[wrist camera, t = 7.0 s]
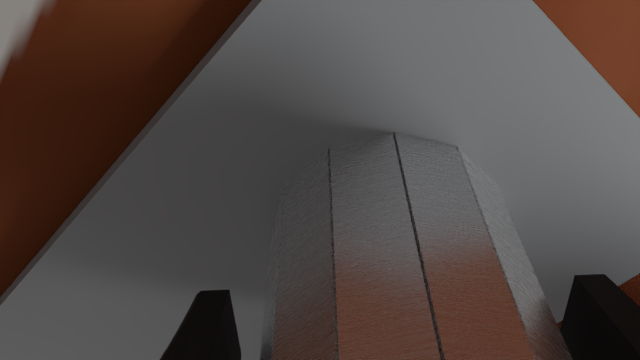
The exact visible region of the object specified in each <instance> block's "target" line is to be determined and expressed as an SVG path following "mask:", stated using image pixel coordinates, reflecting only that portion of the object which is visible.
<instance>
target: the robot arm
mask: <svg viewBox="0 0 640 360" xmlns="http://www.w3.org/2000/svg"><path fill="white" fill-rule="evenodd" d="M560 332H561V335H562V337H563V339H564V342H565V344H566V346H567V348H568V351H569V353H570V355H571V358H572V360H640V307H639V306H638V305H637V304H636V303H635V302H634V301H633V300H632V299H631V298H630V297H628V296H627V295H626V294H625V293H624V292H623V291H622V290H621V289H620V288H619V287H618V286H617V285H616V284H615V283H614V282H613V281H612V280H610V279H609V278H608V277H607V276H606V275H605V274H590V275H575V276H574V279H573V283H572V287H571V291H570V294H569V298H568V302H567V306H566V310H565V313H564V317H563V321H562V325H561V328H560ZM160 360H241V348H240V343H239V338H238V332H237V327H236V322H235V317H234V311H233V306H232V301H231V296H230V290H206V291H200V292H199V293H198V294H197V295H196V296H195V298H194V300H193V302H192V304H191V306H190V308H189V310H188V312H187V314H186V316H185V317H184V319H183V321H182V323H181V325H180V326H179V328H178V330H177V332H176V333H175V335H174V337H173V339H172V340H171V342H170V344H169V345H168V347H167V349H166V350H165V352H164V353H163V355H162V357H161V358H160Z"/></svg>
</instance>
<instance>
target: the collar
mask: <svg viewBox="0 0 640 360" xmlns="http://www.w3.org/2000/svg"><path fill="white" fill-rule="evenodd" d="M260 360H572V358H571V355H570V353H569V351H568V348H567V346H566V344H565V342H564V339H563V337H562V335H561V332H560V330H559V328H558V325H557V323H556V321H555V318H554V316H553V314H552V312H551V309H550V307H549V305H548V302H547V300H546V298H545V295H544V293H543V291H542V288H541V286H540V284H539V281H538V279H537V277H536V275H535V272H534V270H533V268H532V265H531V263H530V261H529V258H528V256H527V254H526V251H525V249H524V247H523V244H522V242H521V240H520V238H519V235H518V233H517V231H516V228H515V226H514V224H513V221H512V219H511V217H510V214H509V212H508V210H507V207H506V205H505V203H504V201H503V198H502V196H501V194H500V191H499V189H498V187H497V185H496V183H495V182H494V181H493V180H492V179H491V178H490V177H489V176H488V175H487V174H486V173H485V172H484V171H483V170H482V169H481V168H480V167H479V166H477V165H476V164H475V163H474V162H473V161H472V160H471V159H470V158H469V157H468V156H467V155H466V154H465V153H464V152H463V151H462V150H461V149H460V148H459V147H457V148H456V146H455V145H450V144H446V143H441V142H437V141H432V140H428V139H423V138H419V137H414V136H410V135H405V134H401V133H396V132H395V134H394V136H393V133H387V134H383V135H379V136H375V137H371V138H367V139H363V140H359V141H354V142H350V143H346V144H342V145H338V146H334V147H330V150H329V149H326V150H325V151H324V152H323V153H322V154H321V155H320V156H318V157H317V158H316V159H315V160H314V161H313V162H311V163H310V164H309V165H308V166H307V167H306V168H305V169H303V170H302V171H301V172H300V173H299V174H298V175H296V176H295V177H294V178H293V179H292V180H291V181H290V182H288V183H287V184H286V185H285V186H284V188H283V191H282V194H281V198H280V202H279V205H278V209H277V213H276V216H275V220H274V224H273V227H272V231H271V238H270V249H269V261H268V272H267V283H266V294H265V306H264V317H263V328H262V339H261V351H260Z"/></svg>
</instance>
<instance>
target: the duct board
mask: <svg viewBox="0 0 640 360" xmlns="http://www.w3.org/2000/svg"><path fill="white" fill-rule="evenodd" d="M395 132H396V133H401V134H405V135H410V136H414V137H419V138H423V139H428V140H432V141H437V142H441V143H446V144H450V145H455V146H456V148H457V147H459V148H460V149H461V150H462V151H463V152H464V153H465V154H466V155H467V156H468V157H469V158H470V159H471V160H472V161H473V162H474V163H475V164H476V165H477V166H479V167H480V168H481V169H482V170H483V171H484V172H485V173H486V174H487V175H488V176H489V177H490V178H491V179H492V180H493V181H494V182H495V183H496V185H497V187H498V189H499V191H500V194H501V196H502V198H503V201H504V203H505V205H506V207H507V210H508V212H509V214H510V217H511V219H512V221H513V224H514V226H515V228H516V231H517V233H518V235H519V238H520V240H521V242H522V244H523V247H524V249H525V251H526V254H527V256H528V258H529V261H530V263H531V265H532V268H533V270H534V272H535V275H536V277H537V279H538V281H539V284H540V286H541V288H542V291H543V293H544V295H545V298H546V300H547V302H548V305H549V307H550V309H551V312H552V314H553V316H554V318H555V321H556V323H559V322H560V321H562V320H563V317H564V313H565V310H566V306H567V302H568V298H569V294H570V291H571V287H572V283H573V279H574V276H575V275H590V274H605V275H606V276H607V277H608V278H609V279H610V280H612V281H613V282H614V283H615V284H616V285H617V286H619V285H621V284H623V283H624V282H626V281H627V280H629V279H631V278H632V277H634V276H636V275H637V274H639V273H640V118H639V117H638V116H637V115H636V114H635V113H634V112H633V110H632V109H631V108H630V107H629V106H628V105H627V104H626V103H625V102H624V101H623V99H622V98H621V97H620V96H619V95H618V94H617V93H616V92H615V91H614V90H613V88H612V87H611V86H610V85H609V84H608V83H607V82H606V81H605V80H604V79H603V77H602V76H601V75H600V74H599V73H598V72H597V71H596V70H595V69H594V68H593V66H592V65H591V64H590V63H589V62H588V61H587V60H586V59H585V58H584V57H583V55H582V54H581V53H580V52H579V51H578V50H577V49H576V48H575V47H574V46H573V44H572V43H571V42H570V41H569V40H568V39H567V38H566V37H565V36H564V35H563V33H562V32H561V31H560V30H559V29H558V28H557V27H556V26H555V25H554V24H553V22H552V21H551V20H550V19H549V18H548V17H547V16H546V15H545V14H544V13H543V11H542V10H541V9H540V8H539V7H538V6H537V5H536V4H535V3H534V2H533V0H252V1H251V2H250V3H249V4H248V5H247V7H246V8H245V9H244V10H243V11H242V12H241V14H240V15H239V16H238V17H237V18H236V20H235V21H234V22H233V23H232V24H231V25H230V27H229V28H228V29H227V30H226V31H225V33H224V34H223V35H222V36H221V37H220V38H219V40H218V41H217V42H216V43H215V44H214V46H213V47H212V48H211V49H210V50H209V51H208V53H207V54H206V55H205V56H204V57H203V59H202V60H201V61H200V62H199V63H198V64H197V66H196V67H195V68H194V69H193V70H192V71H191V73H190V74H189V75H188V76H187V77H186V79H185V80H184V81H183V82H182V83H181V84H180V86H179V87H178V88H177V89H176V90H175V92H174V93H173V94H172V95H171V96H170V97H169V99H168V100H167V101H166V102H165V103H164V105H163V106H162V107H161V108H160V109H159V110H158V112H157V113H156V114H155V115H154V116H153V118H152V119H151V120H150V121H149V122H148V123H147V125H146V126H145V127H144V128H143V129H142V131H141V132H140V133H139V134H138V135H137V136H136V138H135V139H134V140H133V141H132V142H131V144H130V145H129V146H128V147H127V148H126V149H125V151H124V152H123V153H122V154H121V155H120V156H119V158H118V159H117V160H116V161H115V162H114V164H113V165H112V166H111V167H110V168H109V169H108V171H107V172H106V173H105V174H104V175H103V177H102V178H101V179H100V180H99V181H98V182H97V184H96V185H95V186H94V187H93V188H92V190H91V191H90V192H89V193H88V194H87V195H86V197H85V198H84V199H83V200H82V201H81V203H80V204H79V205H78V206H77V207H76V208H75V210H74V211H73V212H72V213H71V214H70V216H69V217H68V218H67V219H66V220H65V221H64V223H63V224H62V225H61V226H60V227H59V228H58V230H57V231H56V232H55V233H54V234H53V236H52V237H51V238H50V239H49V240H48V241H47V243H46V244H45V245H44V246H43V247H42V249H41V250H40V251H39V252H38V253H37V254H36V256H35V257H34V258H33V259H32V260H31V262H30V263H29V264H28V265H27V266H26V267H25V269H24V270H23V271H22V272H21V273H20V275H19V276H18V277H17V278H16V279H15V280H14V282H13V283H12V284H11V285H10V286H9V288H8V289H7V290H6V291H5V292H4V293H3V295H2V296H1V297H0V360H160V358H161V357H162V355H163V353H164V352H165V350H166V349H167V347H168V345H169V344H170V342H171V340H172V339H173V337H174V335H175V333H176V332H177V330H178V328H179V326H180V325H181V323H182V321H183V319H184V317H185V316H186V314H187V312H188V310H189V308H190V306H191V304H192V302H193V300H194V298H195V296H196V295H197V294H198V293H199V292H200V291H206V290H230V296H231V301H232V306H233V311H234V317H235V322H236V327H237V332H238V338H239V343H240V348H241V360H260V351H261V339H262V328H263V317H264V306H265V294H266V283H267V272H268V261H269V249H270V238H271V231H272V227H273V224H274V220H275V216H276V213H277V209H278V205H279V202H280V198H281V194H282V191H283V188H284V186H285V185H286V184H287V183H288V182H290V181H291V180H292V179H293V178H294V177H295V176H296V175H298V174H299V173H300V172H301V171H302V170H303V169H305V168H306V167H307V166H308V165H309V164H310V163H311V162H313V161H314V160H315V159H316V158H317V157H318V156H320V155H321V154H322V153H323V152H324V151H325V150H326V149H329V150H330V147H334V146H338V145H342V144H346V143H350V142H354V141H359V140H363V139H367V138H371V137H375V136H379V135H383V134H387V133H393V136H394V134H395Z"/></svg>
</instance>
